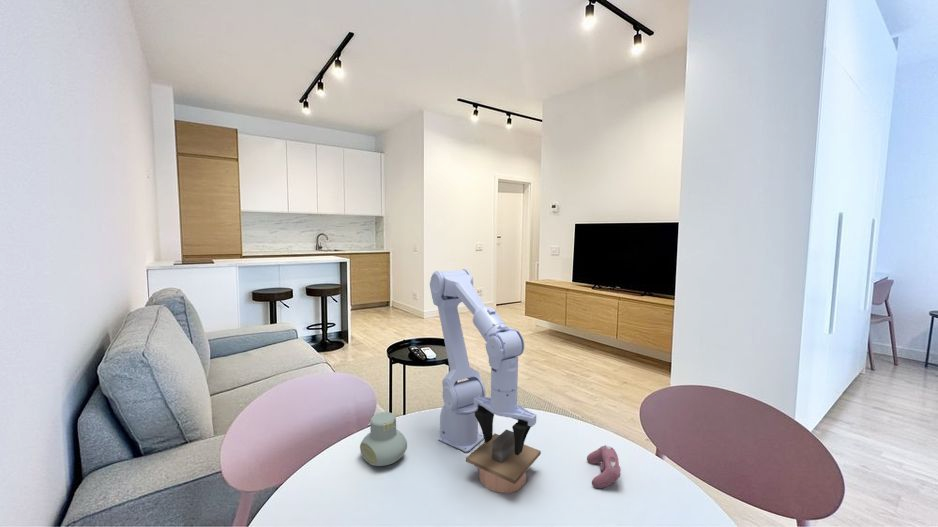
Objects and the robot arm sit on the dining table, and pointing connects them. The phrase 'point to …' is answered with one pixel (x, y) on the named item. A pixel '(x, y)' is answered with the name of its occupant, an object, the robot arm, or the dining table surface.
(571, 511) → the dining table surface
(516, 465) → the lid
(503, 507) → the dining table surface
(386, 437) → the air freshener
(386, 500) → the dining table surface
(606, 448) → the video game controller
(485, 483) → the bowl
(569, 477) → the dining table surface
